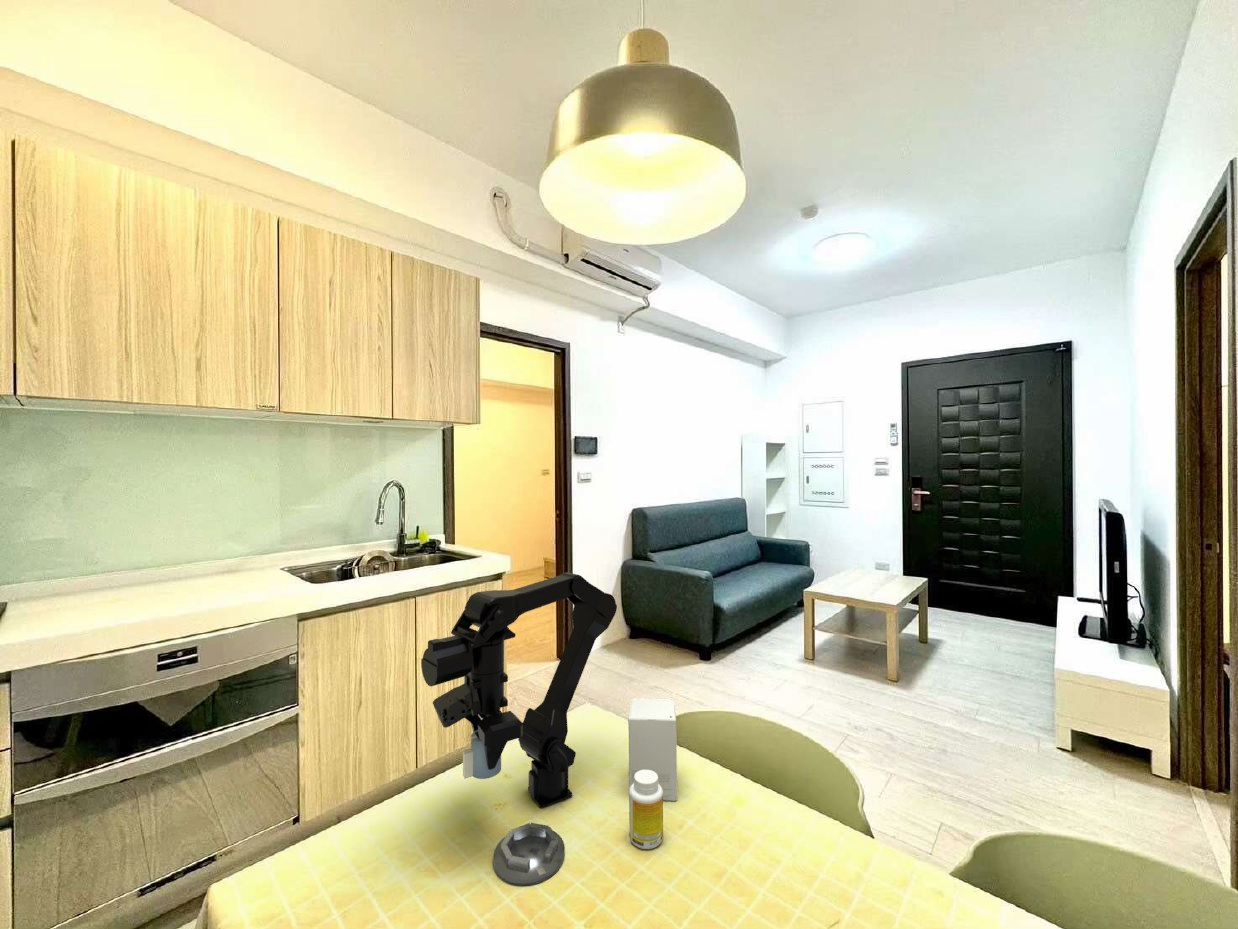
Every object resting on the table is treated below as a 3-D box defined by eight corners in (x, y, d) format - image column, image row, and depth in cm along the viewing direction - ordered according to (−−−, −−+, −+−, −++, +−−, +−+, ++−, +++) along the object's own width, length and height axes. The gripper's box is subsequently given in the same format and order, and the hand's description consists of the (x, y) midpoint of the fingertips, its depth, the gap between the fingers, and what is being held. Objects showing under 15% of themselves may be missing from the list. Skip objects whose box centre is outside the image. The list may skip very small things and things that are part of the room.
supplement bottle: (668, 846, 82) (668, 782, 82) (636, 855, 80) (636, 789, 80) (654, 823, 87) (654, 763, 87) (624, 831, 85) (624, 770, 85)
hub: (548, 824, 87) (548, 810, 87) (576, 867, 78) (576, 851, 78) (484, 848, 81) (484, 833, 82) (506, 898, 72) (506, 880, 72)
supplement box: (676, 773, 102) (675, 698, 102) (677, 802, 93) (677, 720, 93) (631, 771, 103) (630, 696, 103) (627, 799, 94) (627, 718, 94)
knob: (495, 758, 90) (496, 723, 90) (505, 772, 85) (505, 735, 85) (459, 769, 86) (460, 732, 86) (467, 784, 82) (468, 746, 82)
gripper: (425, 660, 90) (425, 749, 90) (452, 700, 74) (451, 808, 74) (487, 648, 96) (487, 732, 96) (524, 683, 80) (523, 783, 80)
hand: (486, 760), depth 86 cm, fingers closed on knob, 5 cm apart
